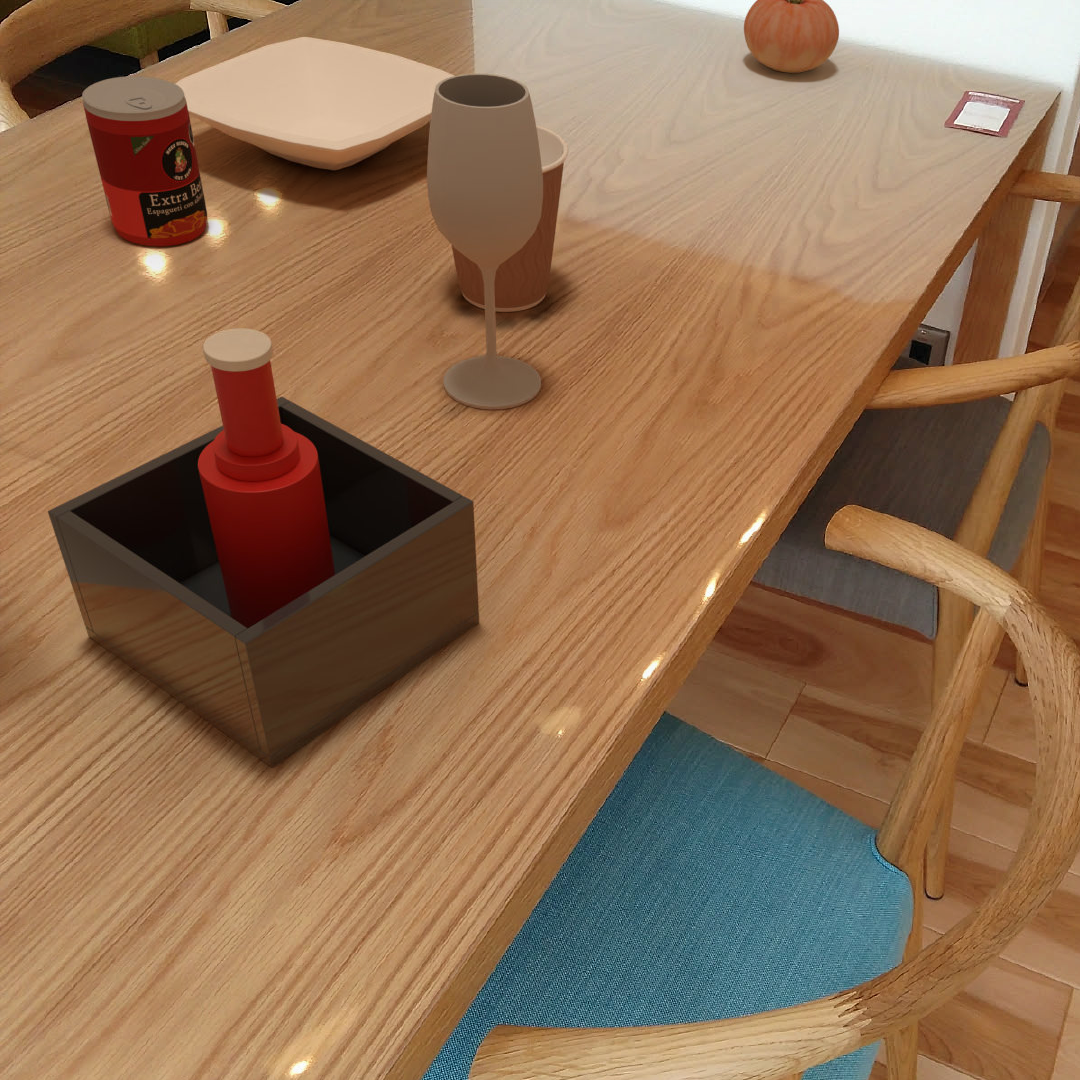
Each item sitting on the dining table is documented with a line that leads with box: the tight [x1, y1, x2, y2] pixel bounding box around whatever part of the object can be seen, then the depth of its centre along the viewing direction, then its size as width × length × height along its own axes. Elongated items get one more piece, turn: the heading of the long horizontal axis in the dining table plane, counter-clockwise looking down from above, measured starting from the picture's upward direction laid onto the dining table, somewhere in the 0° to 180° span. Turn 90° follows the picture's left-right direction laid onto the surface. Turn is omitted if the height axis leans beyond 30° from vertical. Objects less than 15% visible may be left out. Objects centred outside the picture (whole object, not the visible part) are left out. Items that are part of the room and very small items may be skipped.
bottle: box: [198, 327, 335, 629], centre depth 69 cm, size 6×6×18 cm
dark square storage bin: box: [47, 396, 480, 768], centre depth 73 cm, size 16×16×9 cm
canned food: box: [81, 75, 208, 248], centre depth 107 cm, size 8×8×11 cm
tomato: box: [743, 0, 840, 74], centre depth 148 cm, size 11×11×8 cm
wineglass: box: [426, 73, 543, 411], centre depth 90 cm, size 8×8×21 cm
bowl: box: [174, 36, 455, 171], centre depth 123 cm, size 22×23×6 cm
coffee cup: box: [451, 124, 569, 313], centre depth 103 cm, size 10×10×12 cm
